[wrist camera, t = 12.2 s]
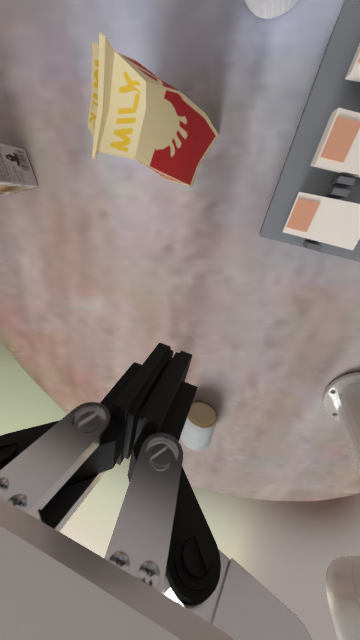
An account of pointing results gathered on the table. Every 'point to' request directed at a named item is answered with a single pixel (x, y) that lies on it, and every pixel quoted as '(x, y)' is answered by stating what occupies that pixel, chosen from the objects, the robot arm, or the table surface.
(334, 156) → the block
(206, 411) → the ceramic mug
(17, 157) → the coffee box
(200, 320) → the table surface
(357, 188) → the switch unit
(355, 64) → the rocker
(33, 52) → the table surface
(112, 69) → the milk carton
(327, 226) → the rocker
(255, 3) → the ramekin
